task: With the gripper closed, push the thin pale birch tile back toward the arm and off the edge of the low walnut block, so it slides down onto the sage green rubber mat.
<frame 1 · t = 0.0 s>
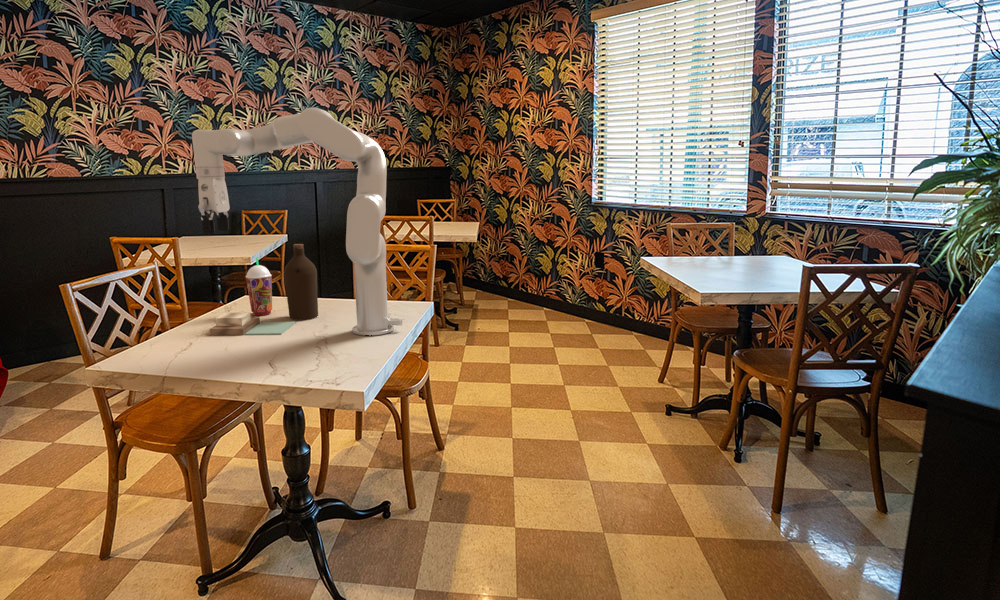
hand: (216, 232, 178), 31 cm above the table, tool pointing down, fingers open, 9 cm apart
tile: (233, 319, 188), point 3 cm above the table, touching deck
mat: (271, 328, 189), on the table
deck: (236, 329, 189), on the table
smoothie: (262, 314, 208), on the table
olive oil: (304, 317, 204), on the table
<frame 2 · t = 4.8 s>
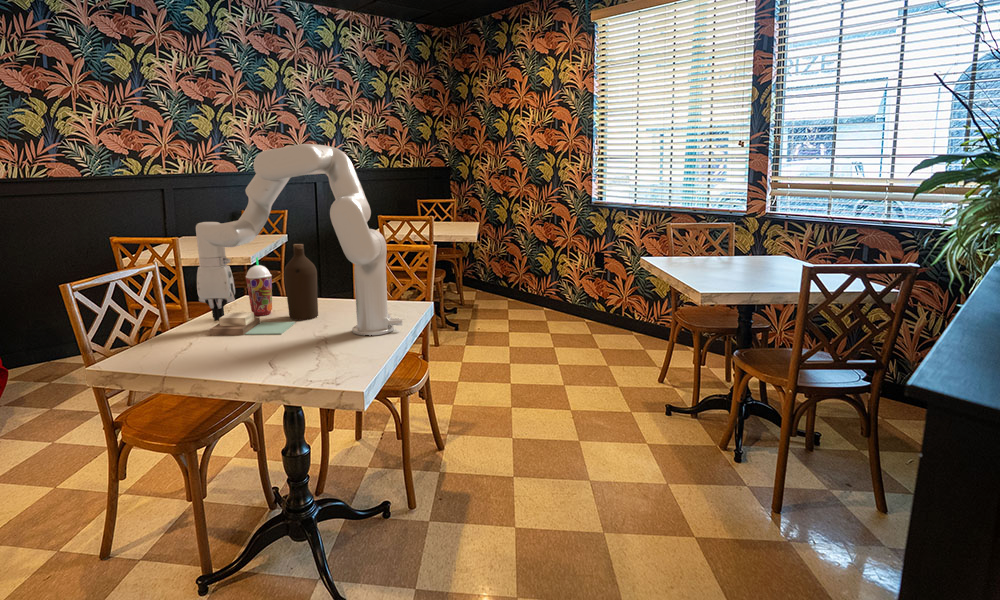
hand: (218, 319, 188), 3 cm above the table, tool pointing down, fingers closed
tile: (237, 319, 188), point 3 cm above the table, touching gripper
everything else where it was.
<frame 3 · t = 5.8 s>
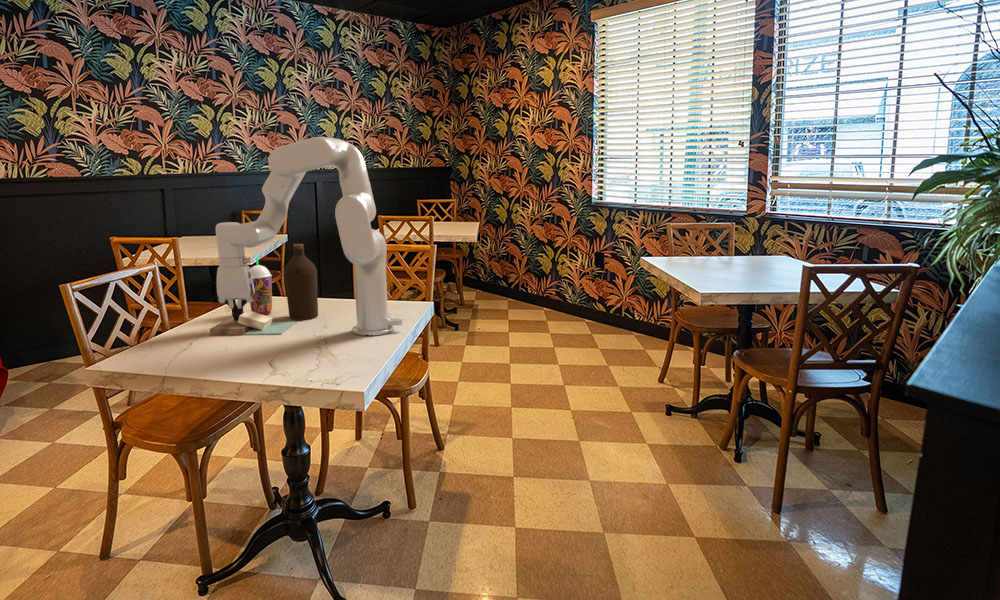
hand: (238, 319, 188), 3 cm above the table, tool pointing down, fingers closed
tile: (255, 320, 188), point 3 cm above the table, tilted 18°, touching gripper
everything else where it was.
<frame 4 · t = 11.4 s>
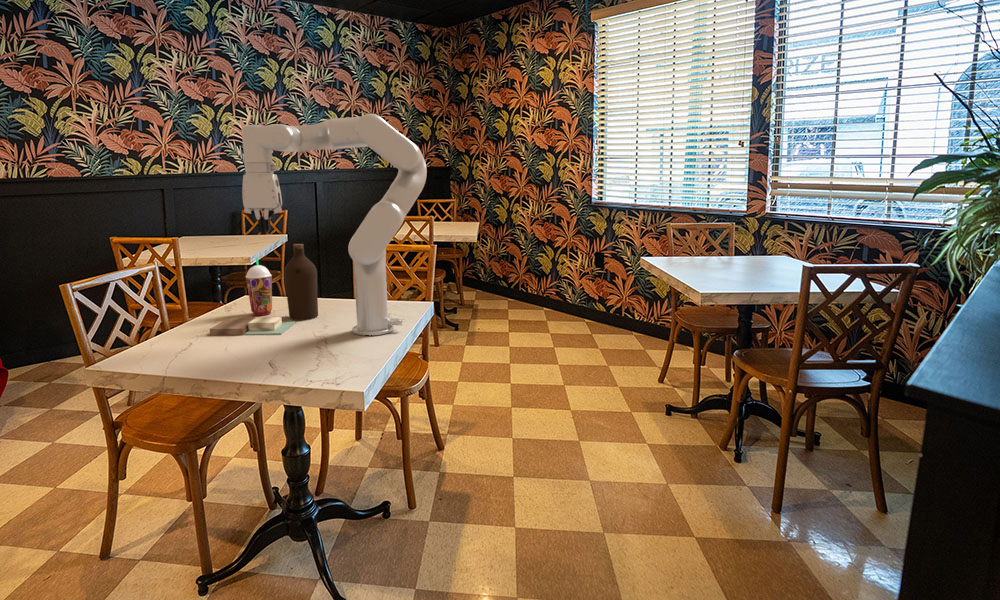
hand: (265, 232, 177), 31 cm above the table, tool pointing down, fingers closed
tile: (265, 323, 189), point 2 cm above the table, touching mat
everything else where it was.
at the end: tile point 1.6 cm above the table; tile inside the target area (1.6 cm from its centre), point 1.6 cm above the table; tile touching mat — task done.
